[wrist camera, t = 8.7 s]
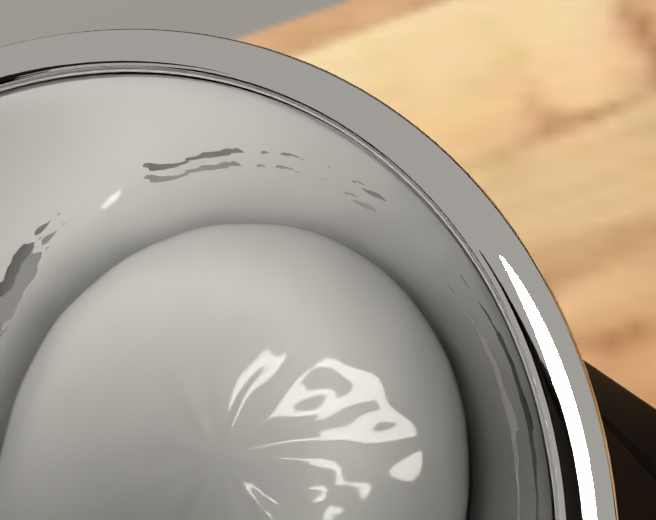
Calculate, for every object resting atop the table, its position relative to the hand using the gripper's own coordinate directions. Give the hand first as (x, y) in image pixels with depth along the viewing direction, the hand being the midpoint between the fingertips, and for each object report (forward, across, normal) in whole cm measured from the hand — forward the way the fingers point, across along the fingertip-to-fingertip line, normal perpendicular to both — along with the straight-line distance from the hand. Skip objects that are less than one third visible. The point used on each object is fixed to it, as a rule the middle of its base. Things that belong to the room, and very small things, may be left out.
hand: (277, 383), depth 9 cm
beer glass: (+6, 0, +7) cm, 9 cm away
